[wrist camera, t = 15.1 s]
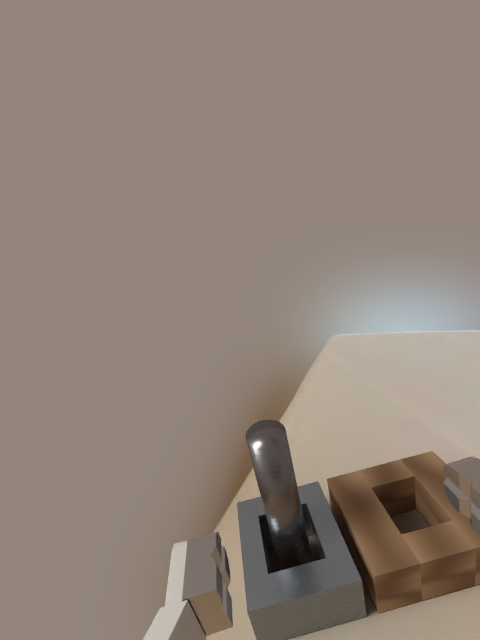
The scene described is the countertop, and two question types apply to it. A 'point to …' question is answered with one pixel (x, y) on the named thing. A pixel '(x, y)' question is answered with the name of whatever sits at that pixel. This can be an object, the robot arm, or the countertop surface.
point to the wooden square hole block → (410, 548)
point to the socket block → (298, 574)
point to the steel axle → (279, 492)
